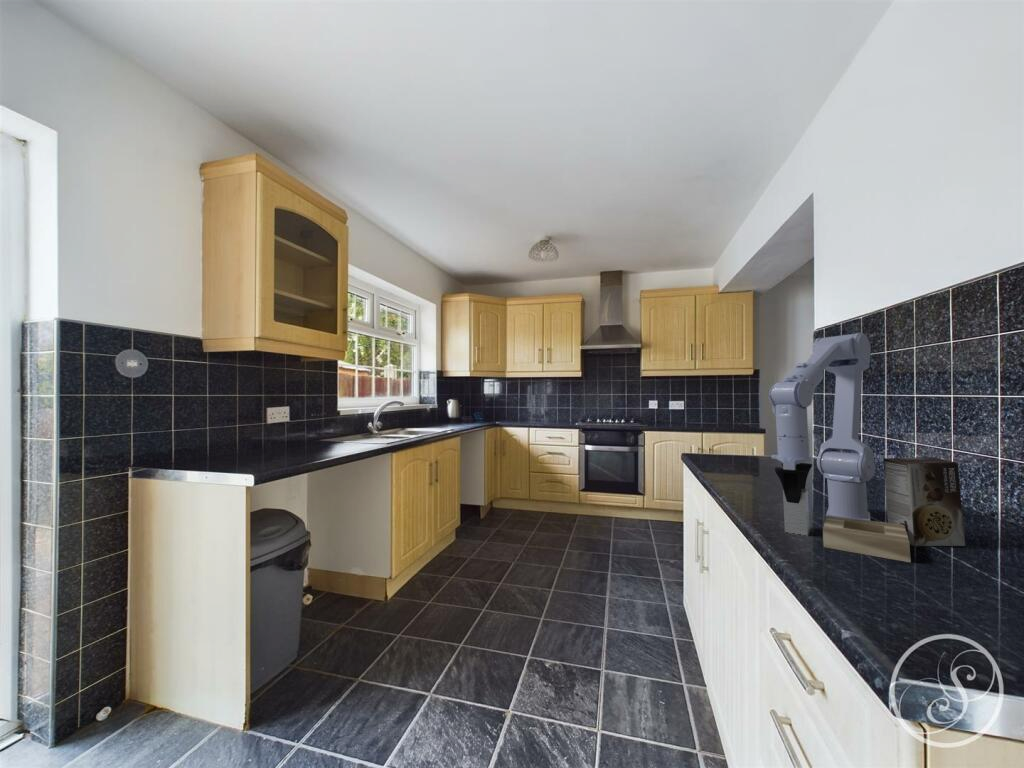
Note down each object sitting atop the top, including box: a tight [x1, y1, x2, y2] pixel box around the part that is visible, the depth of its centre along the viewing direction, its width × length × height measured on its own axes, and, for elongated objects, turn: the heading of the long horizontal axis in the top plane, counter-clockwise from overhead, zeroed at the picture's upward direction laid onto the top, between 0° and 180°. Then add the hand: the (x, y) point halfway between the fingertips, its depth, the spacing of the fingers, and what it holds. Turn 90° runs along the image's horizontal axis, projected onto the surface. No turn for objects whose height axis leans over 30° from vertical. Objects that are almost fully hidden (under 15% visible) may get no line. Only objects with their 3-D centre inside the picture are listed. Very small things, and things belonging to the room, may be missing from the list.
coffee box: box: [883, 457, 966, 547], centre depth 80 cm, size 9×6×16 cm
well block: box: [822, 515, 912, 563], centre depth 78 cm, size 12×12×4 cm
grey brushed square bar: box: [782, 488, 811, 537], centre depth 87 cm, size 4×4×9 cm
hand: (795, 499), depth 87 cm, fingers open, 7 cm apart
